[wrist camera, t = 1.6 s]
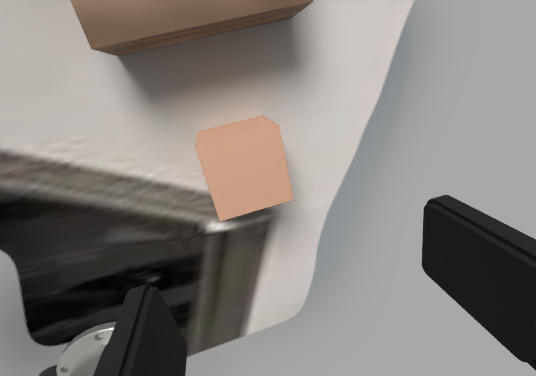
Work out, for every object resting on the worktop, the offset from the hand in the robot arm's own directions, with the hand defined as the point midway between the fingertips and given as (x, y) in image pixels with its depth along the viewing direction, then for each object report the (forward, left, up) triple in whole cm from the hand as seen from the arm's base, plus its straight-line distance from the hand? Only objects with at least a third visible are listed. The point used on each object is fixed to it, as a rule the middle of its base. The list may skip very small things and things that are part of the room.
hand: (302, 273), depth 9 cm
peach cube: (0, 0, -18) cm, 18 cm away
